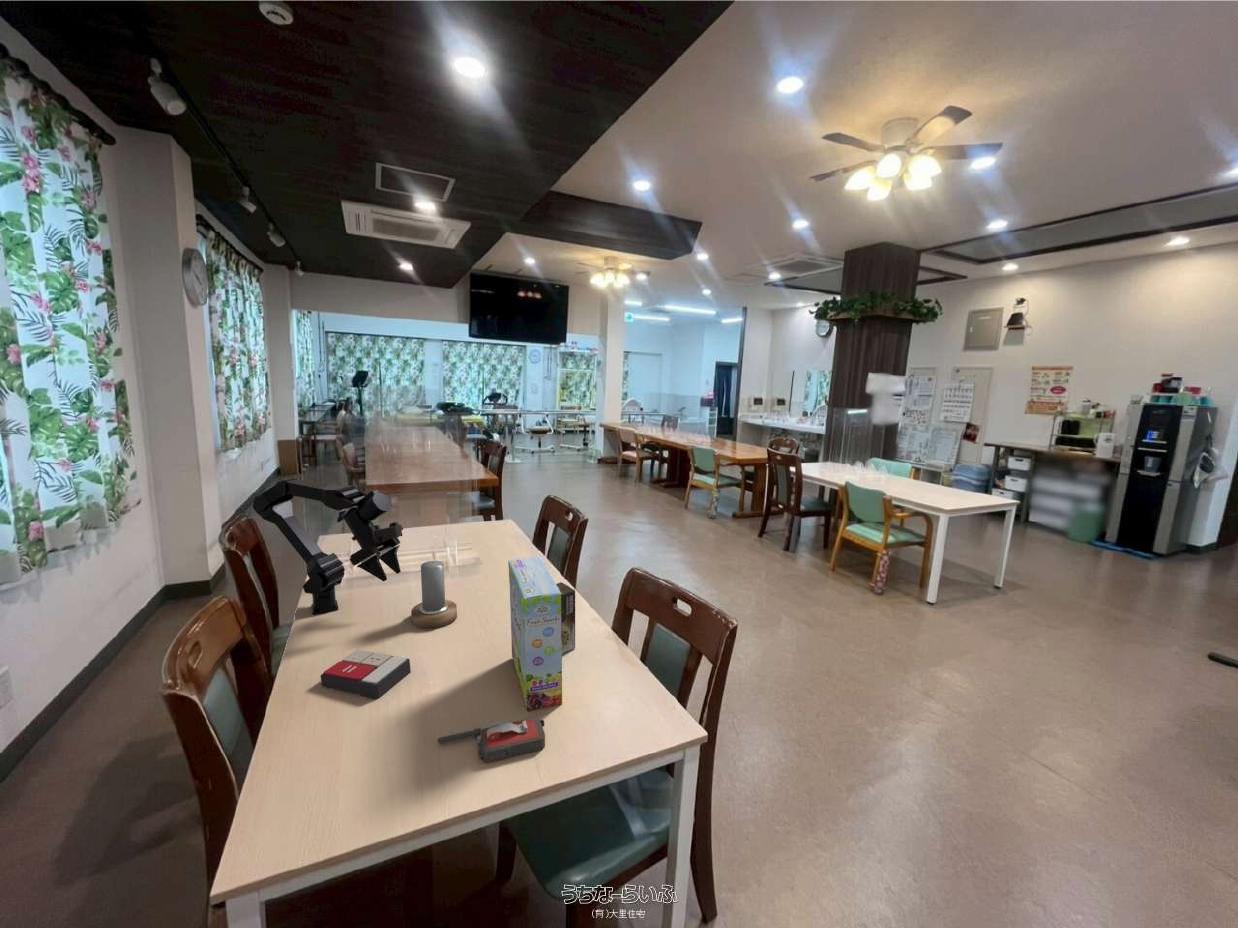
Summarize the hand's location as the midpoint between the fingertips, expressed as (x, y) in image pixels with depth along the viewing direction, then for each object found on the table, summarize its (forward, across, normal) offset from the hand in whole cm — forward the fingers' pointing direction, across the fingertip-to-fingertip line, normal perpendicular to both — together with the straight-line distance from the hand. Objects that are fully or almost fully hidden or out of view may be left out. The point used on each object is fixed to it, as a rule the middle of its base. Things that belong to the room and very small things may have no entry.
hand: (392, 576), depth 141 cm
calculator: (+18, -25, +6) cm, 31 cm away
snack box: (+38, -25, -26) cm, 52 cm away
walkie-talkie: (+38, -45, -20) cm, 63 cm away
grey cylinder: (+14, +3, -4) cm, 14 cm away
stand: (+16, +3, -2) cm, 17 cm away
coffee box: (+37, -12, -30) cm, 50 cm away
